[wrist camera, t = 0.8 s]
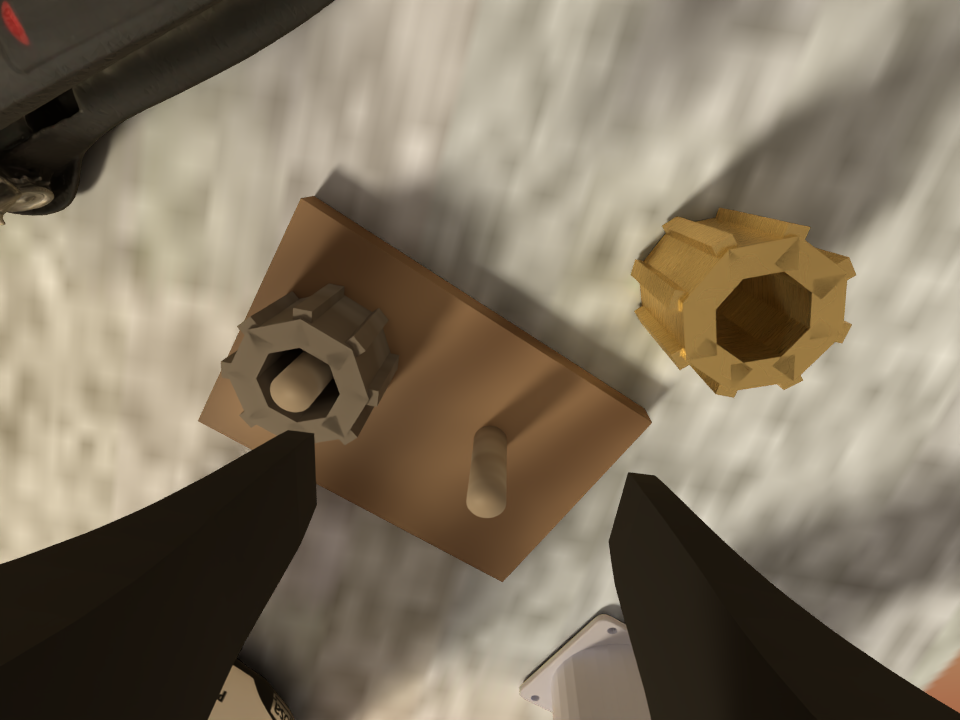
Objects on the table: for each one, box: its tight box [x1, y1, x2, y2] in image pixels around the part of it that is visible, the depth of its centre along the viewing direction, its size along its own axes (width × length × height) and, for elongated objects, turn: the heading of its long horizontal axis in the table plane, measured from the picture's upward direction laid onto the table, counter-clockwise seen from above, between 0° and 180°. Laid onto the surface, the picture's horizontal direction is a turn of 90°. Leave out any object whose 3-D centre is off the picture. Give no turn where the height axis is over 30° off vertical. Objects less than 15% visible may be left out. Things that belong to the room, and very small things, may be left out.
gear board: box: [198, 196, 652, 582], centre depth 19 cm, size 16×11×5 cm
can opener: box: [0, 0, 334, 225], centre depth 14 cm, size 18×7×6 cm, turn 111°
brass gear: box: [631, 208, 856, 398], centre depth 16 cm, size 5×5×5 cm
